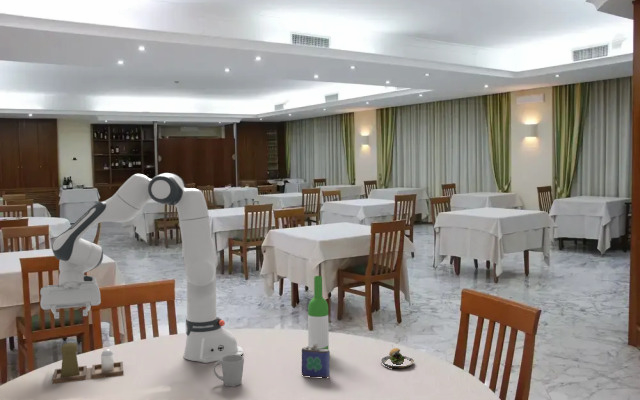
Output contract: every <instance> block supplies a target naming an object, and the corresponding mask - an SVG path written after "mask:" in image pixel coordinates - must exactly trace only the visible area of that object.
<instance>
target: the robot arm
mask: <svg viewBox="0 0 640 400" xmlns="http://www.w3.org/2000/svg"><path fill="white" fill-rule="evenodd" d="M151 200H152V201H153V202H156V203H159V204H162V205H169V206H175V207H176V210H177V215H178V222H179V229H180V238H181V242H182V244H181V246H182V253H183V261H184V262H183V263H184V271H185V275H186V276H185V277H186V319H185V334H186V339H185V347H184V352H183V355H182V356H183V359H186V360H188V361H193V362H199V363H205V364H206V363H213V362H217V361H219V360H221V358H222V357H224V356H227V355H242V354H243V355H244V349H243V348H242V346H240V345H239V344H238V342H237V338H236V337H235V335H234V334H233V333H232V332H230V331H229V330H228V329H226V328H224V326H225V324H226V322H225V320H223V319H222V318H220V317H219V316H217V313H218V312H217V277H216V275H217V267H216V266H217V265H216V259H215V252H214V246H213V239H212V229H211V224H210V216H209V209H208V206H207V205H208V204H207V201H206V199H205V195H204V193H203V191H202V190H200V189H197V188H194V187H193V188H192V187H190V188H188V187H186V183H185V181H184V179H183V178H182V177H181V176H179V175H178V174H176V173H173V172H172V173H171V172H170V173H169V172H164V173H163V172H162V173H160V174H157V175H155V176H154V177H152V178H150V177H148V176H147V175H145V174H142V173H135V174H133V175H131V176H130V177H129V178H127V180H126V181H124V183H123V184H122V185H121V186H120V187H119V188H118V190H116V192H115V193H114V194H113V195H112V196H111V197H109V198H108V199H106V200H103V201H99V202H96V203H95V204H93V206H92V207H90V208H89V209H88V210H87V211H86V212H85V213H83V215H81V217H79V218H78V219H76V221H75V222H74V223H73V224H71V226H70V227H69V228H68V229H66V230H65V231H63V232H62V233H60V234H59V235H58V236H57V237H56V238H55V239H54V240H53V243H52V245H51V249H52V253H53V255H54V258H55V259H56V260H59V264H58V270H59V273H58V284H52V285H51V284H50V285H49V284H47V285H45V286H43V287H41V289H40V291H39V292H40V293H39V295H40V308H41V309H42V310H46V311H47V310H51V313H52V314H53V317H54V319H55V320H56V319H60V312H59V311H57V310H56V309H66V308H67V309H68V308H79V307H85V308H84V309H82V316H83V317H87V316H88V312H89V311H90V310H91V306H99V305H100V304H101V302H102V301H101V300H102V299H101V298H102V297H101V291H100V288H99V285H98V283H97V278H96V277H95V276H91V275H87V274H85V273H87V272H91V271H92V270H95V269H96V268H98V267H100V265H101V264H102V262H103V259H104V250H103V247H102V246H101V245H99V244H96V243H94V242H92V241H89V240H86V239H84V238H83V236H85V234H86V233H88V231H89V230H91V229H92V228H93V227H94V226H95V225H97V224H100V223H106V222H107V223H110V222H111V223H112V222H113V223H127V222H130V221H132V220H133V219H135V218H136V217H137V216H138V215H139V213H140V212H141V211H142V209H143V208H145V206H146V204H147V203H149V201H151ZM243 355H242V356H243Z"/></svg>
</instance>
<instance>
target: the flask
mask: <svg viewBox="0 0 640 400" xmlns="http://www.w3.org/2000/svg"><path fill="white" fill-rule="evenodd" d="M313 345H314V346H313V347H310V348H309V347H308V345H307V346H304V347H302V348H301V376H302V375H303V376H310V377H322V378H325V379H326V378H327V377H329V378H330V377H331V376H330V372H331V371H330V367H331V366H330V353H331V352H330V350H328V349H317V345H318V344H317V343H316V344H313ZM303 376H302V377H303Z"/></svg>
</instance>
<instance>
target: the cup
mask: <svg viewBox="0 0 640 400" xmlns="http://www.w3.org/2000/svg"><path fill="white" fill-rule="evenodd" d="M244 363H245V358H244V356H243V355H242V356H241V355H227V356H224V357H222V358H221V360H218V361H215V362H214V365H213V373H214V375H215V377H216V378H217V379H218V380H220V381H223V384H224V385H225V386H226V387H236V386H237V387H238V386H240V385H241V384H242V382H243V381H242V380H243V372H244ZM217 365H221V370H222V376H221V375H219V374H218V373H217V372H216V367H217ZM239 384H240V385H239Z"/></svg>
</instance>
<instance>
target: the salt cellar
mask: <svg viewBox="0 0 640 400" xmlns="http://www.w3.org/2000/svg"><path fill="white" fill-rule="evenodd" d="M114 358H115V357H114V352H113V350H112V349H108V348H107V349H104V350H103V351H102V352H101V354H100V360H101V361H100V364H101V368H102V373H103V372H112V371H114V362H115V360H114Z"/></svg>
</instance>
